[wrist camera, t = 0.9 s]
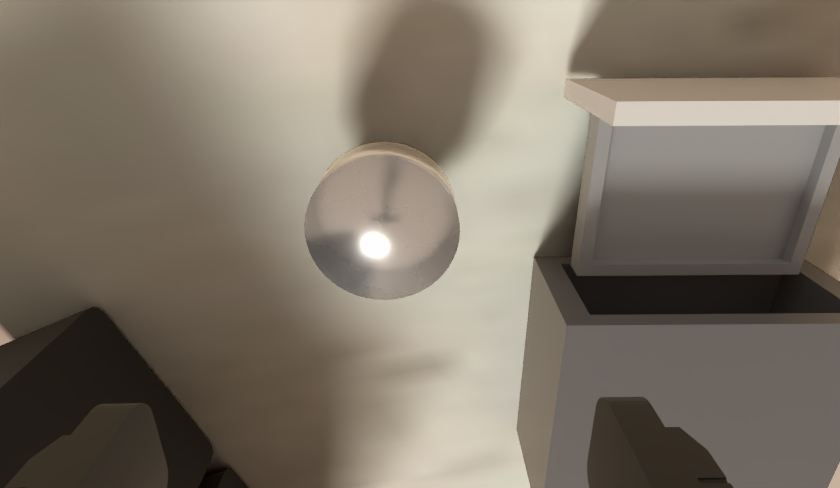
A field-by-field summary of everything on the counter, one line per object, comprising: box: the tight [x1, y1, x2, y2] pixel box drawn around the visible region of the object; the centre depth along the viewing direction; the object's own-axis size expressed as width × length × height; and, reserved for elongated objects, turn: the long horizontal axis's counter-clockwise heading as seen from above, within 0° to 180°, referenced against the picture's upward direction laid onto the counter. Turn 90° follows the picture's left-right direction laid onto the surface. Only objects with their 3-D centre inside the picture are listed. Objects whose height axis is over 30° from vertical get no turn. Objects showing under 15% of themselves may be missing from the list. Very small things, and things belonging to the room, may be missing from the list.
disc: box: [305, 142, 460, 300], centre depth 21 cm, size 6×6×2 cm
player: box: [517, 257, 840, 488], centre depth 26 cm, size 12×14×6 cm
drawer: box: [564, 77, 840, 276], centre depth 21 cm, size 9×13×6 cm
